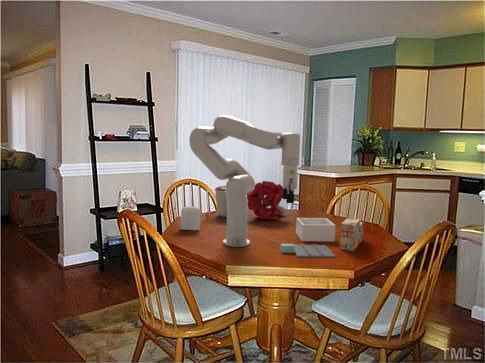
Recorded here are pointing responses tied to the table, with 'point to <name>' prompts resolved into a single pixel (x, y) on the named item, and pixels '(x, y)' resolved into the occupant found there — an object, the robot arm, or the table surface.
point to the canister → (221, 200)
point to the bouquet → (266, 200)
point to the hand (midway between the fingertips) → (288, 201)
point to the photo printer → (190, 218)
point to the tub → (315, 229)
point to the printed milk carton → (351, 234)
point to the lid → (307, 250)
